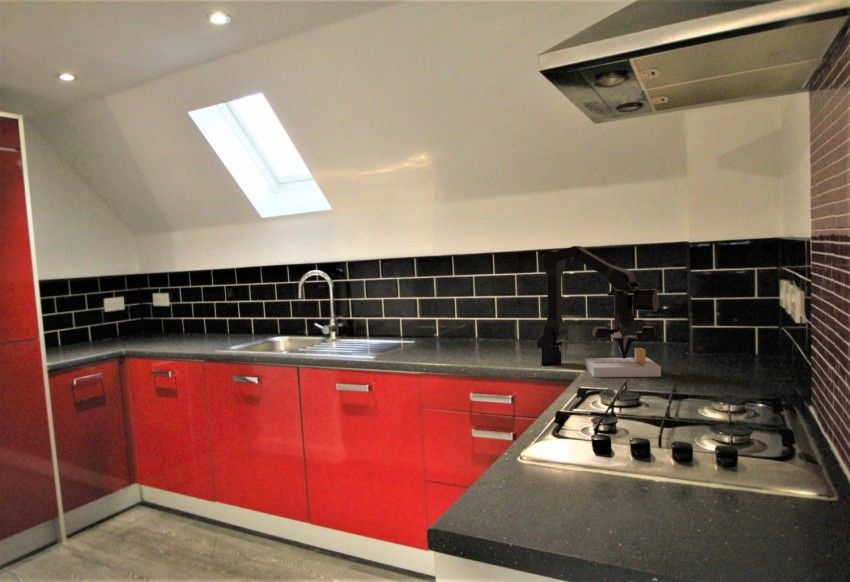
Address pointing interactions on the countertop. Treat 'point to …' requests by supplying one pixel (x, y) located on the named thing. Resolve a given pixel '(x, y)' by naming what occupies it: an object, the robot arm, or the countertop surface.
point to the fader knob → (640, 355)
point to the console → (622, 367)
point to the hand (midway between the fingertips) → (624, 358)
